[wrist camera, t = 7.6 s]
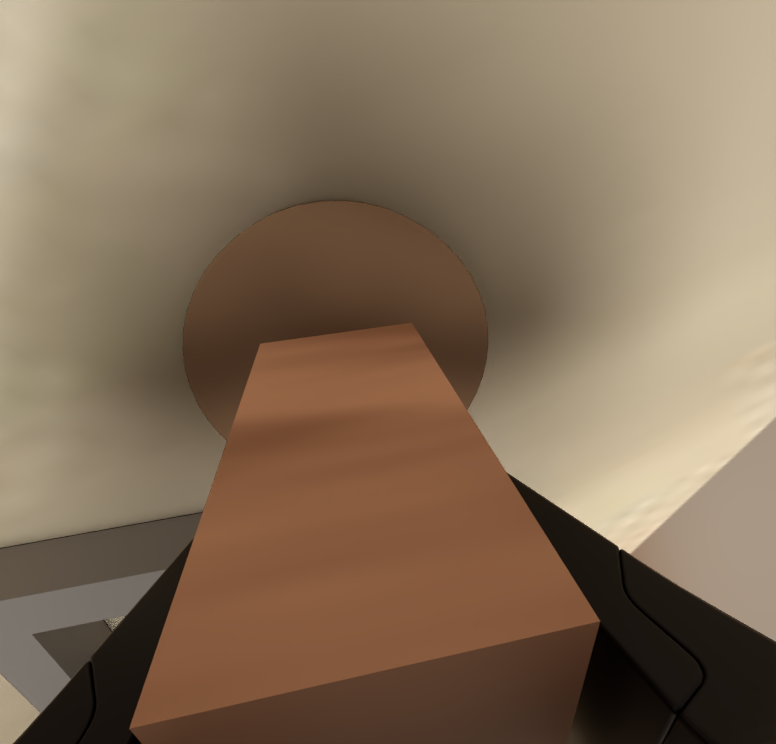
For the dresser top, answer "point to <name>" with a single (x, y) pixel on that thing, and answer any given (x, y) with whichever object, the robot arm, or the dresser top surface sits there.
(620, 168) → the dresser top surface
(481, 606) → the block
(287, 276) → the pad
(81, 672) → the robot arm
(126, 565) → the collar
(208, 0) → the dresser top surface
